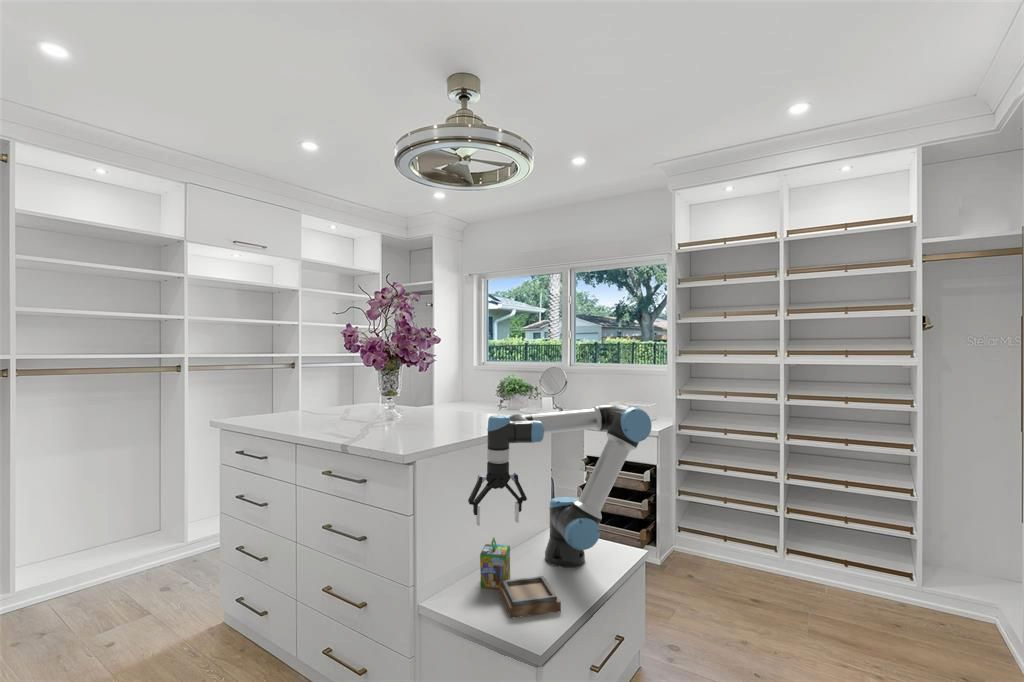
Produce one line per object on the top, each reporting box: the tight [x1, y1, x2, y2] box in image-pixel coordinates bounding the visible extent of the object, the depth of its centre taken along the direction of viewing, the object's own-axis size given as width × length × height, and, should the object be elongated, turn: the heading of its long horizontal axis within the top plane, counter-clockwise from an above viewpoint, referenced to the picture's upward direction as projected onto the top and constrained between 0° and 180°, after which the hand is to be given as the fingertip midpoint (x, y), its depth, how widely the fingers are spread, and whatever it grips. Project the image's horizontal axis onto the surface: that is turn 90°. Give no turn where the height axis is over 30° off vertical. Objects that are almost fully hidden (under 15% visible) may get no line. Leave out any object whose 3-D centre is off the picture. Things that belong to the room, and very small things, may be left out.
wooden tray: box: [498, 575, 562, 619], centre depth 160 cm, size 16×16×4 cm
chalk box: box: [479, 536, 511, 589], centre depth 173 cm, size 9×9×15 cm
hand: (497, 522), depth 172 cm, fingers open, 13 cm apart
